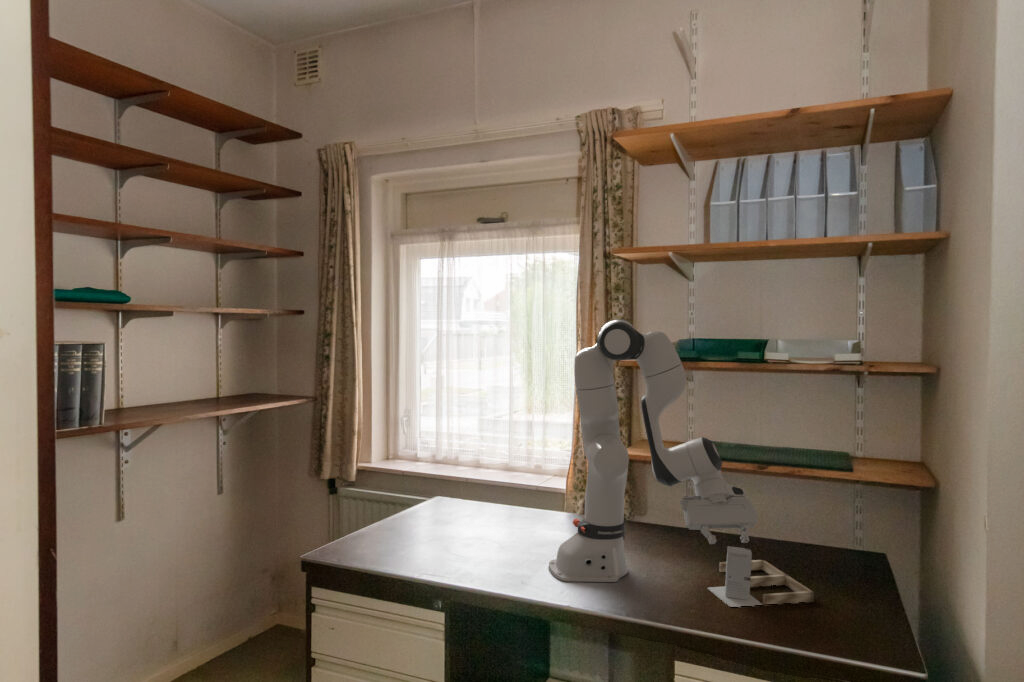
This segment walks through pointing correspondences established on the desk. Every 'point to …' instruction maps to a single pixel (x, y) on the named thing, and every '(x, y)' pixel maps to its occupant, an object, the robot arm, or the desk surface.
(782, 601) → the lane rack
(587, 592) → the desk surface
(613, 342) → the robot arm
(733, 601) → the grey mat
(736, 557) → the skincare box
